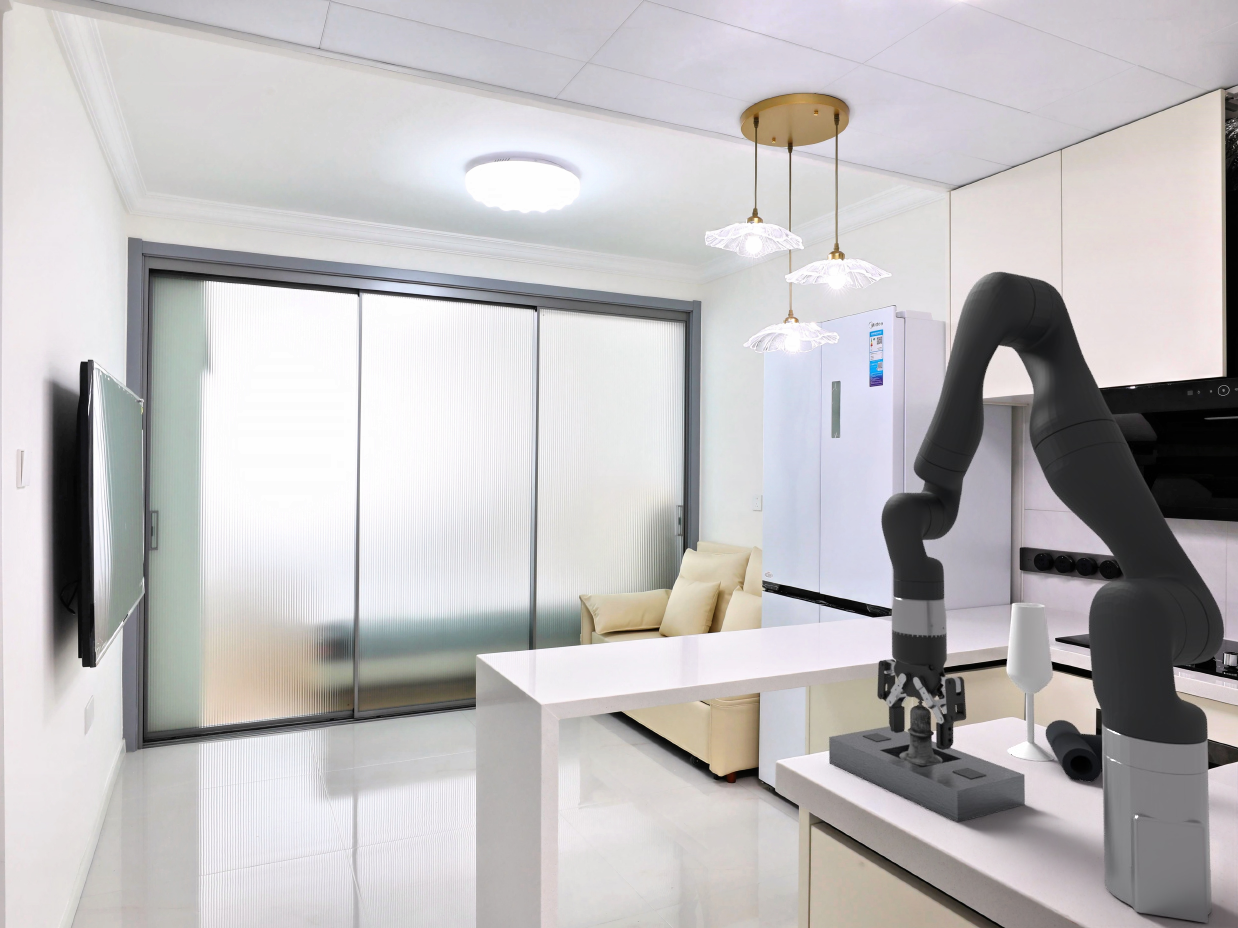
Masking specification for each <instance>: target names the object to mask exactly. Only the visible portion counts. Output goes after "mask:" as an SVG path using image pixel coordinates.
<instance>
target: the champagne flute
mask: <svg viewBox="0 0 1238 928" xmlns="http://www.w3.org/2000/svg"><path fill="white" fill-rule="evenodd" d="M1046 612H1047V611H1046V605H1045V604H1044V605H1043V604H1041V603H1030V602H1014V603H1011V614H1010V626H1009V627H1010V628H1009V636H1008V637H1009V638H1008V646H1007V647H1008V648H1007V659H1006V660H1007V661H1006V674H1007V676H1008V677H1009V679H1010V680H1011V682H1012V683H1013V684H1014V685H1015V686H1016V687H1017V688H1018V689H1019V690H1020V691H1022V692H1023V693H1025V739H1026V741H1023V742H1021V743H1019V744H1017V745H1014V746H1012V747H1010V748H1008V749H1007V753H1008V754H1009V755H1011V754H1012V755H1011V756H1014V757H1016V758H1018V759H1022V760H1027V761H1036V762H1047V761H1048V762H1049V761H1052V760H1054V759H1055V757H1054V755H1053V754H1052V753H1050V752H1049V751H1047V750H1046V749H1045V748H1044V747H1042V746H1041V745H1039V744H1038V743H1036V742H1035V694H1037V693H1039V692H1040V691H1042V690H1044V688H1045V687H1047V686H1048V684H1050V682H1051V681H1052V679H1053V678H1054V677H1053V676H1054V670H1053V665H1052V663H1053V662H1052V654H1051V648H1050V647H1051V645H1050V639H1049V628H1048V621H1047V613H1046Z"/></svg>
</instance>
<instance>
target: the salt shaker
mask: <svg viewBox="0 0 1238 928" xmlns="http://www.w3.org/2000/svg"><path fill="white" fill-rule="evenodd" d="M917 703H918V704H917V705H914V706H913V707H911V708H910V712H909V715H910V716H909V717H910V718H909V720H910V721H909V722H910V723H909V728H908V729H907V732H909V733H910V746H909V750H908V751H906V752H903V753H901V754H900V758H901V759H902V760H905V761H907V762H909V763H912V764H914V765H917V766H919V767H927V766H932V765H936V764H941V763H942V762H943V760H942V759H941V758H940V757H939V756H937V755H935V754H934V753H933V750H932V741H933V737H932V736H933V735H935V734H934V733H935V732H934V731H933V730H932V712H931V709H929V708H928V707H927V706H924V705H923V703H924V701H921V700H918V702H917Z"/></svg>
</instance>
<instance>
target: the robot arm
mask: <svg viewBox="0 0 1238 928" xmlns="http://www.w3.org/2000/svg"><path fill="white" fill-rule="evenodd" d="M960 311H961V312H960V316H959V317H958V318H959V319H958V322H957V326H956V331H955V335H954V338H953V342H952V343H953V344H952V347H951V351H950V354H949V359H948V362H947V366H946V370H945V371H946V372H945V375H944V379H943V380H944V381H943V384H942V387H941V393H940V396H939V399H938V401H937V404H936V405H937V406H936V407H935V411H934V413H933V416H932V419H931V421H930V424H929V426H928V428H927V431H926V433H925V436H924V438H923V440H922V442H921V445H920V447H919V449H918V452H917V454H916V457H915V460H914V463H913V471H914V473H915V475H916V476H917V477H918V479H920V480H922V481H924V482H923V483H924V484H923V488H922V490H921V492H898V493H895V494H893V495H892V496H890V497H889V498H888V500H886V502H885V503H884V506H883V508H882V512H881V519H880V520H881V530H882V533H883V537H884V541H885V545H886V549H887V552H888V556H889V559H890V562H891V566H892V571H893V573H892V574H893V576H892V577H893V581H892V582H893V583H892V585H893V586H892V588H893V589H892V591H893V592H892V595H893V597H892V598H893V599H892V607H891V656H892V658H891V659H890V658H888V659H883V660H879V661H878V664H877V665H878V670H877V672H878V673H877V690H876V691H877V694H876V695H877V698H878V699H879V700H883V701H884V702H885V704H886V705H887V706H888V726H890V727H891V731H892V732H894V733H899V732H903V731H905V728H906V726H905V725H906V723H905V719H906V718H905V715H906V714H905V712H906V710H905V706H903V704H905V702H906V700H907V699H908V698H915V699H917V700H918V701H919V700H921V701H922V702H925V705H926V708H928V709H929V710H930V711H932V714H933V715H934V718H935V719H936V721H937V722H935V732H936V733H935V735H936V736H935V739H936V740H935V742H936V747H937V748H938V749H941V750H945V749H949V748H952V746H953V744H954V724H955V723H956V722H961V721H965V720H966V719H967V706H966V690H965V689H966V688H965V680H964V678H963V677H962V676H948V675H946V673H945V670H944V669H945V668H944V666H945V664H946V662H947V660H948V658H947V657H948V655H947V654H948V647H947V646H948V644H947V643H948V641H947V640H948V639H947V637H948V636H947V635H948V633H947V631H948V630H947V627H948V626H947V609H946V604H945V573H944V566H943V563H942V562H941V561H940V560H939V559H937V558H934V557H932V556H928V553H927V552H926V549H925V545H924V541H931V540H933V541H934V540H939V539H941V538H943V537H945V536H946V535H947V534H948V533H949V532H950V531H951V529H952V528H953V526H954V525H955V523H956V521H957V518H958V515H959V510H960V502H961V499H962V494H963V493H962V492H963V485H964V484H963V483H964V478H965V477H966V474H967V473H968V470H969V468H970V466H971V463H972V461H973V459H974V457H975V455H976V453H977V451H978V448H979V446H980V443H981V441H982V437H983V434H984V433H983V432H984V427H985V414H984V413H985V411H984V410H985V409H984V384H985V378H986V373H987V371H988V368H989V365H990V363H991V360H992V358H993V357H994V354H995V352H996V351H997V349H998V348H999V346H1000V347H1004V348H1005V347H1007V348H1011V349H1012V350H1014V351H1015V352H1016V353H1017V355H1018V357H1019V358H1020V360H1021V362H1022V363H1023V366H1024V367H1025V370H1026V372H1027V375H1028V376H1029V379H1030V381H1031V385H1032V388H1033V397H1032V398H1033V399H1032V406H1031V411H1030V417H1029V426H1028V427H1029V428H1028V429H1029V430H1028V431H1029V432H1028V433H1029V439H1030V440H1029V441H1030V444H1031V446H1032V451H1033V452H1034V455H1035V457H1036V459H1037V461H1038V464H1039V466H1040V468H1041V471H1042V473H1043V476H1044V478H1045V479H1046V482H1047V484H1048V485H1049V487H1050V489H1051V490H1052V492H1053V493H1054V494H1055V495H1056V496H1057V498H1058V499H1059V500H1060V501H1061V502H1062V504H1063V505H1065V506H1066V508H1068V510H1070V511H1071V512H1072V513H1073V514H1074V516H1076V517H1078V519H1079V520H1081V521H1082V522H1083V523H1084V525H1086V526H1087V527H1088V528H1089V529H1090V530H1091V531H1092V532H1093V533H1094V534H1096V536H1098V538H1100V539H1101V541H1102V542H1103V543H1104V544H1105V546H1106V547H1107V548H1108V549H1109V551H1110V553H1111V554H1112V556H1113V557H1114V559H1115V561H1116V562H1117V564H1118V566H1119V568H1120V570H1121V573H1122V574H1123V577H1124V578H1123V579H1117V580H1113V581H1109V582H1108V583H1106V584H1104V585H1102V586H1101V587H1100V588H1099V589H1098V590H1097V591H1096V593H1095V595H1094V596H1093V599H1092V601H1091V605H1090V607H1089V612H1088V614H1089V615H1088V640H1089V650H1090V651H1089V654H1090V663H1091V678H1092V679H1091V681H1092V688H1093V692H1094V695H1095V698H1096V701H1097V702H1098V705H1099V708H1100V712H1101V735H1102V764H1103V769H1102V798H1103V799H1102V804H1103V805H1102V807H1103V808H1102V809H1103V811H1102V812H1103V813H1102V814H1103V847H1104V849H1103V850H1104V851H1103V853H1104V856H1103V857H1104V859H1103V860H1104V861H1103V862H1104V886H1105V887H1106V890H1108V892H1110V894H1111V895H1112V896H1114V897H1116V898H1117V899H1118V900H1120V901H1122V902H1123V903H1125V904H1128V905H1129V906H1131V908H1132V909H1133V910H1134V912H1137V913H1141V914H1149V915H1154V916H1160V917H1168V918H1172V919H1173V918H1174V919H1180V920H1185V921H1186V920H1187V921H1194V922H1199V923H1209V915H1210V913H1211V912H1212V874H1211V872H1212V871H1211V844H1210V843H1211V841H1210V840H1211V839H1210V836H1211V835H1210V806H1209V805H1210V802H1209V801H1210V800H1209V799H1210V795H1209V753H1208V752H1209V749H1208V748H1209V745H1208V735H1209V734H1208V733H1209V731H1208V718H1207V715H1206V713H1205V711H1204V710H1203V709H1202V708H1201V707H1200V706H1198V705H1196V704H1195V703H1191V702H1190V701H1188V700H1184V699H1182V698H1181V697H1180V696H1179V695H1178V693H1177V690H1176V680H1175V673H1174V672H1175V669H1174V666H1185V665H1193V664H1194V665H1195V664H1196V665H1197V664H1201V663H1204V662H1207V661H1209V660H1211V659H1212V658H1214V657H1215V656H1216V655H1217V654H1218V653H1219V652H1220V649H1221V648H1222V645H1223V642H1224V637H1225V626H1224V625H1225V624H1224V619H1223V616H1222V613H1221V609H1220V607H1219V605H1218V604H1217V601H1216V599H1215V597H1214V596H1213V594H1212V592H1211V591H1210V589H1209V587H1208V585H1207V583H1206V582H1205V581H1204V579H1203V577H1202V576H1201V574H1200V573H1199V571H1198V569H1196V567H1195V565H1194V563H1192V561H1191V559H1190V558H1189V556H1188V555H1187V553H1186V551H1185V550H1184V549H1183V547H1182V546H1181V544H1180V542H1179V540H1178V539H1177V537H1176V536H1175V534H1174V532H1173V530H1172V529H1171V528H1170V526H1169V524H1168V522H1167V520H1166V519H1165V517H1164V514H1163V513H1162V511H1161V508H1160V507H1159V505H1158V503H1157V501H1156V499H1155V497H1154V495H1153V494H1152V492H1151V490H1150V488H1149V486H1148V484H1147V482H1146V480H1145V479H1144V477H1143V475H1142V473H1141V471H1140V469H1139V467H1138V465H1137V462H1136V461H1135V457H1134V456H1133V453H1132V451H1131V448H1130V446H1129V444H1128V443H1127V441H1126V439H1125V436H1124V435H1123V432H1122V430H1121V428H1120V426H1119V425H1118V422H1117V420H1116V419H1115V417H1114V415H1113V414H1112V412H1111V410H1110V408H1109V406H1108V405H1107V402H1106V400H1105V398H1104V396H1103V394H1102V392H1101V389H1100V388H1099V385H1098V383H1097V382H1096V379H1095V377H1094V374H1093V373H1092V371H1091V369H1090V368H1089V366H1088V364H1087V361H1086V358H1085V357H1084V354H1083V352H1082V349H1081V346H1080V343H1079V340H1078V337H1077V335H1076V331H1075V328H1074V326H1073V323H1072V320H1071V317H1070V314H1069V311H1068V309H1067V306H1066V303H1065V300H1064V299H1063V297H1062V295H1061V293H1060V292H1059V290H1058V289H1057V288H1056V287H1055V286H1054V285H1052V284H1051V283H1049V282H1047V281H1046V280H1042V279H1040V278H1039V279H1038V278H1035V277H1034V278H1033V277H1029V276H1025V275H1019V274H1015V273H1010V272H1005V271H994V272H991V273H987V274H985V275H984V276H982V277H980V278H979V279H978V280H977V281H976V282H975V283H974V284H973V285H972V287H971V289H970V290H969V292H968V294H967V295H966V299H965V300H964V303H963V306H962V309H961V310H960ZM896 679H897V680H896ZM936 698H938V699H936Z"/></svg>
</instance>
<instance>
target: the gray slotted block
mask: <svg viewBox="0 0 1238 928" xmlns="http://www.w3.org/2000/svg"><path fill="white" fill-rule="evenodd" d="M828 740H829V741H828V743H829V745H828V748H829V749H828V754H829V755H828V756H829V758H828V759H829V764H831V765H833V766H836V767H837V768H840V769H842V770H844V771H846V772H847V773H850V774H852V775H854V776H857V777H859V778H861V779H863V780H864V781H865V780H866V781H868V782H870V783H872V784H874V785H876V786H879V787H880V788H883V789H886V790H887V791H889V792H891V793H893V794H895V795H898V796H900V797H902V798H904V799H906V800H909V801H911V802H913V803H915V804H917V805H920V806H922V807H924V808H926V809H928V810H930V811H933V812H934V813H937V814H939V815H941V816H943V817H946V818H947V819H950V820H952V821H953V822H956V823H961V822H963V821H967V820H972V819H975V818H979V817H982V816H986V815H990V814H993V813H998V812H1001V811H1005V810H1009V809H1012V808H1016V807H1021V806H1023V805H1025V804H1026V798H1025V796H1026V793H1025V792H1026V790H1025V787H1026V786H1025V784H1026V783H1025V774H1024V773H1022V772H1018V771H1015V770H1013V769H1010V768H1007V767H1005V766H1002V765H999V764H997V763H994V762H992V761H988V760H985V759H982V758H980V757H978V756H974V755H971V754H969V753H966V752H963V751H961V750H958V749H955V748H952V747H951V748H949V749H945V750H941V749H938V748H937V747H936V741H933V740H932V750H933V753H934V754H935V755H937V756H939V757H940V758H941V759H942V760H943V762H942V763H941V764H936V765H932V766H927V767H919V766H917V765H914V764H912V763H909V762H907V761H905V760H902V759H901V758H900V754H901V753H903V752H906V751H908V750H909V746H910V733H909V732H908V731H905V730H904V731H903V732H899V733H894V732H892V731H891V727H890V725H888V726H884V727H877V728H872V729H866V730H861V731H855V732H850V733H849V732H848V733H844V734H843V733H842V734H837V735H832V736H829V738H828Z"/></svg>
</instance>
